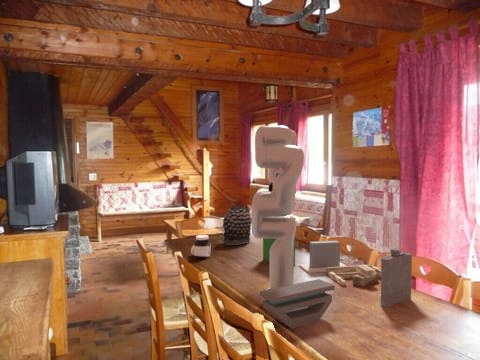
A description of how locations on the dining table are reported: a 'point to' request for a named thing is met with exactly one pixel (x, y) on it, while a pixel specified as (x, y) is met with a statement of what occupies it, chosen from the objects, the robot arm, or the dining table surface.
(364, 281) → the walnut offcut
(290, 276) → the robot arm
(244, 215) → the bumpy dark dome
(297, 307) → the sharpening stone
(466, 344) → the dining table surface
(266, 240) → the hardback book
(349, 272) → the rack
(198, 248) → the spread jar
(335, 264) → the grey rectangular block
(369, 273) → the pine offcut
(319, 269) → the felt mat
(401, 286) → the hip flask
